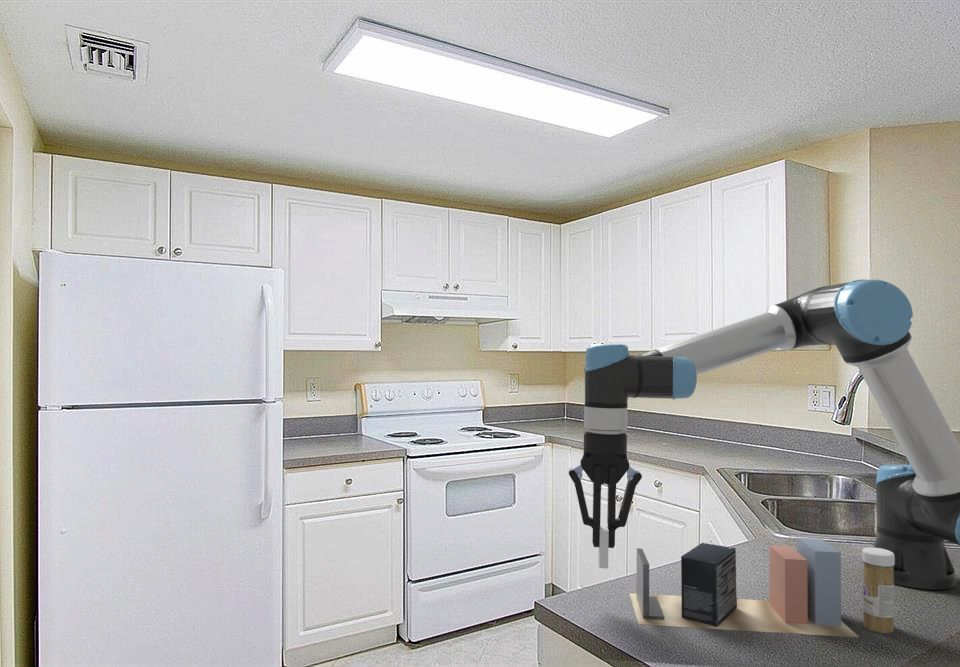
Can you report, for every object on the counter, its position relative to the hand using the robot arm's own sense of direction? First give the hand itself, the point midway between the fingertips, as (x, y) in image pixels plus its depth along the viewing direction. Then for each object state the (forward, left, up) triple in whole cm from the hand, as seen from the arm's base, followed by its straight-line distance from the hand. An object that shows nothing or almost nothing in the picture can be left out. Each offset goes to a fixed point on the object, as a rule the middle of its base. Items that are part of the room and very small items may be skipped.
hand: (603, 565), depth 114 cm
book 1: (-31, -1, -7) cm, 32 cm away
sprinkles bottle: (-44, +2, -8) cm, 45 cm away
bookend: (-8, 0, -7) cm, 11 cm away
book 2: (-36, -1, -7) cm, 37 cm away
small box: (-18, 0, -7) cm, 19 cm away
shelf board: (-22, 0, -8) cm, 24 cm away
